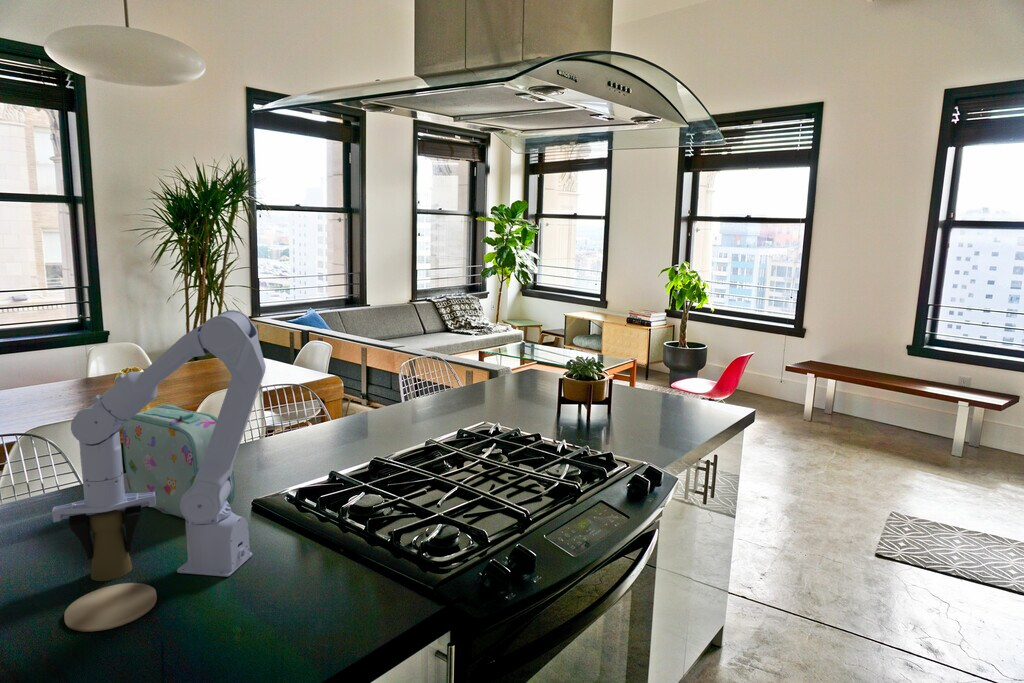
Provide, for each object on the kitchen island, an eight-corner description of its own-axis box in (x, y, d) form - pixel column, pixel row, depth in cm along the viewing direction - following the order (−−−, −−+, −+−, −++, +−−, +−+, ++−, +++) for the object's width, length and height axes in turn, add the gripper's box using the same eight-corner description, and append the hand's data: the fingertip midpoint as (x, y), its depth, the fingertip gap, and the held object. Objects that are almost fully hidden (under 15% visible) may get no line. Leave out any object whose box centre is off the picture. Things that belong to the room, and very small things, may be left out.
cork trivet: (173, 590, 106) (173, 586, 105) (120, 634, 94) (119, 629, 94) (105, 584, 107) (104, 580, 107) (44, 627, 95) (43, 622, 95)
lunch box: (246, 511, 136) (241, 411, 133) (202, 530, 127) (195, 423, 124) (167, 486, 149) (160, 394, 146) (121, 502, 140) (113, 404, 137)
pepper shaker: (124, 559, 115) (118, 500, 114) (138, 570, 112) (133, 509, 110) (85, 572, 111) (79, 511, 109) (98, 585, 107) (92, 521, 105)
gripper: (153, 461, 115) (159, 534, 118) (53, 474, 109) (61, 551, 111) (152, 474, 109) (158, 551, 111) (47, 489, 103) (55, 570, 105)
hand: (110, 552), depth 111 cm, fingers closed on pepper shaker, 5 cm apart
